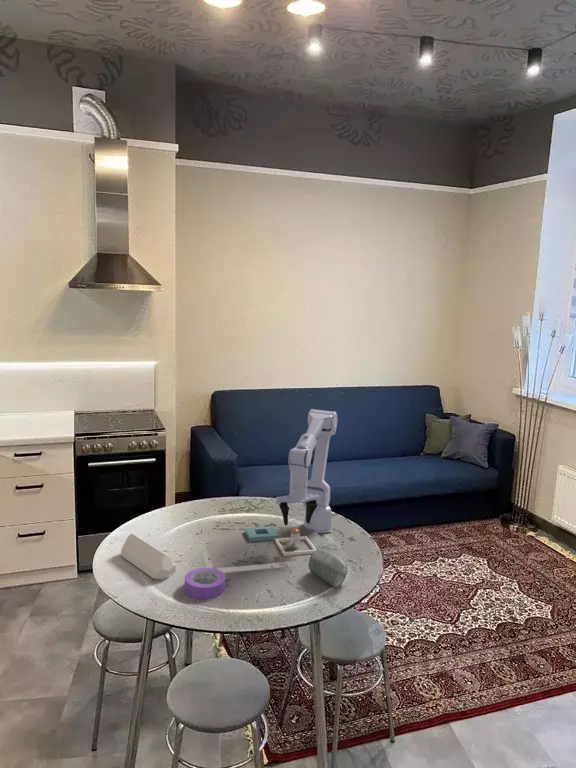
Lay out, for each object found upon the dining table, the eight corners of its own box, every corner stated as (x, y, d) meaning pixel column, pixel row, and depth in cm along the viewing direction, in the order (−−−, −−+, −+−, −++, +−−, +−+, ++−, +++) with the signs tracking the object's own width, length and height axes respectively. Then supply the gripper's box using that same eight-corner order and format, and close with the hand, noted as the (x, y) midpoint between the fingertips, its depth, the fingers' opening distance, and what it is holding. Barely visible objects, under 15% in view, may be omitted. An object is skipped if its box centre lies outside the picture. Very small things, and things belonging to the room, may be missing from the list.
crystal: (112, 545, 186) (152, 573, 169) (129, 529, 189) (171, 555, 173) (122, 560, 189) (163, 589, 172) (140, 545, 193) (181, 572, 176)
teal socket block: (272, 534, 208) (272, 526, 208) (278, 543, 201) (278, 535, 200) (244, 536, 206) (245, 528, 205) (249, 545, 198) (250, 537, 198)
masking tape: (230, 582, 173) (230, 570, 173) (217, 602, 162) (217, 589, 162) (193, 576, 176) (193, 565, 175) (177, 596, 165) (178, 583, 164)
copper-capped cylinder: (296, 546, 198) (297, 527, 196) (300, 550, 195) (301, 530, 194) (288, 548, 196) (289, 528, 195) (292, 552, 194) (293, 532, 192)
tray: (306, 542, 202) (306, 536, 202) (316, 557, 192) (317, 550, 191) (274, 545, 199) (275, 538, 199) (283, 560, 189) (284, 553, 188)
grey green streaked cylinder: (297, 562, 180) (315, 536, 179) (317, 569, 186) (335, 544, 185) (319, 592, 169) (338, 565, 168) (340, 598, 175) (359, 572, 174)
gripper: (280, 489, 186) (278, 529, 188) (323, 486, 190) (321, 526, 192) (274, 482, 193) (273, 521, 195) (316, 479, 197) (314, 518, 199)
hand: (296, 523), depth 194 cm, fingers open, 7 cm apart
